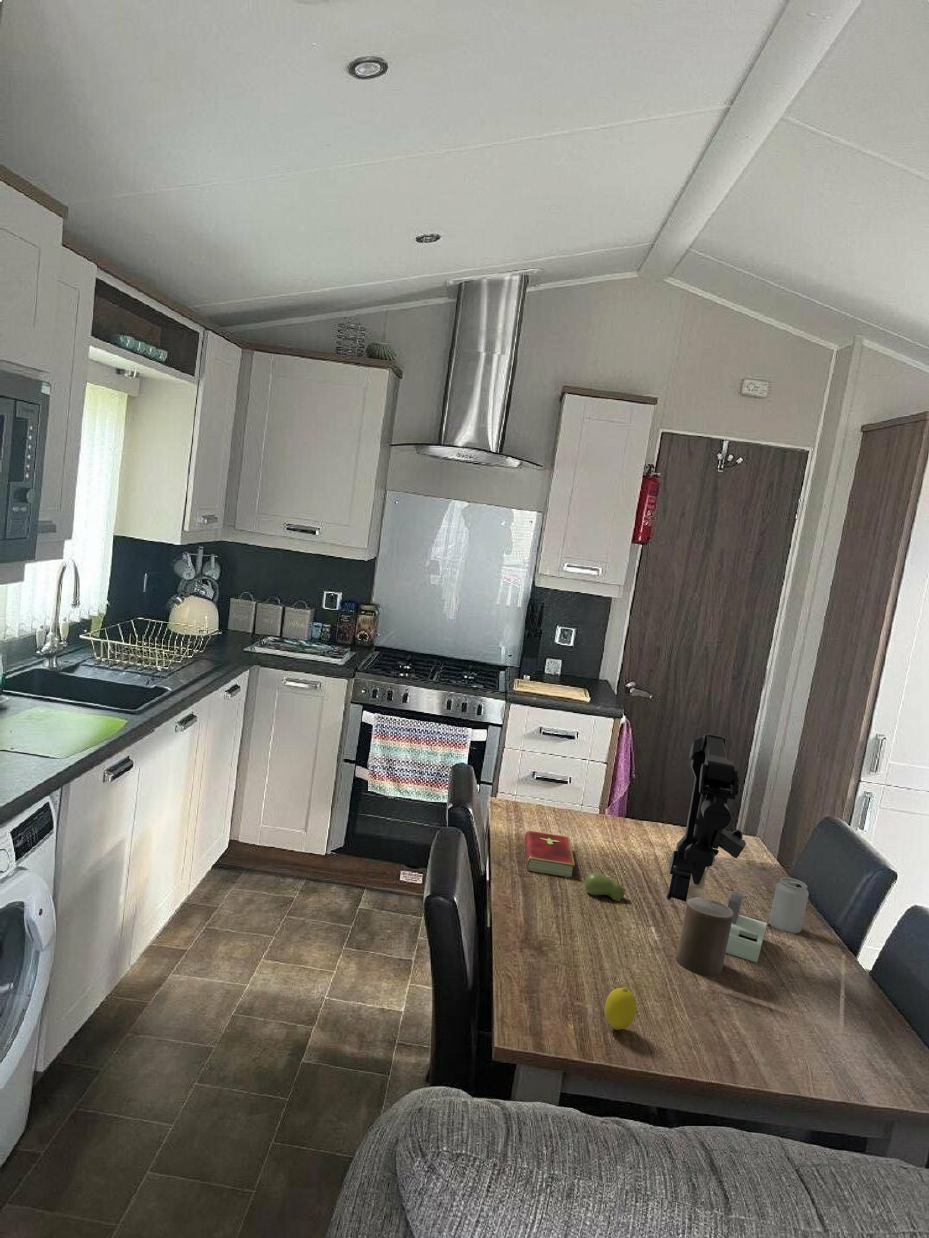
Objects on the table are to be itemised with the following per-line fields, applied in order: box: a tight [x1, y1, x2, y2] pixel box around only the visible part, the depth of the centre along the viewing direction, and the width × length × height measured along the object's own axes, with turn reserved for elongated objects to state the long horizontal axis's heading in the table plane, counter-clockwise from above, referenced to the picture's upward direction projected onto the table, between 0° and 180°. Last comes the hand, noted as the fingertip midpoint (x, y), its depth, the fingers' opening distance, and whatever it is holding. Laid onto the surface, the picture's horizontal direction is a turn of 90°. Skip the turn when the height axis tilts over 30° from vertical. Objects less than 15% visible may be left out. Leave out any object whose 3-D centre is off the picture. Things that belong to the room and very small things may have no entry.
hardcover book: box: [524, 829, 576, 878], centre depth 247 cm, size 12×21×4 cm, turn 178°
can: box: [768, 877, 810, 935], centre depth 225 cm, size 8×8×12 cm
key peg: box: [685, 867, 709, 906], centre depth 212 cm, size 3×3×9 cm
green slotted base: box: [727, 891, 768, 950], centre depth 210 cm, size 10×14×6 cm
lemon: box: [604, 987, 637, 1031], centre depth 167 cm, size 6×6×8 cm
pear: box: [584, 872, 626, 902], centre depth 228 cm, size 6×5×10 cm
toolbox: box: [725, 934, 764, 963], centre depth 210 cm, size 10×14×4 cm
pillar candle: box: [674, 897, 733, 977], centre depth 196 cm, size 10×10×15 cm
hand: (697, 881), depth 211 cm, fingers closed on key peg, 3 cm apart
